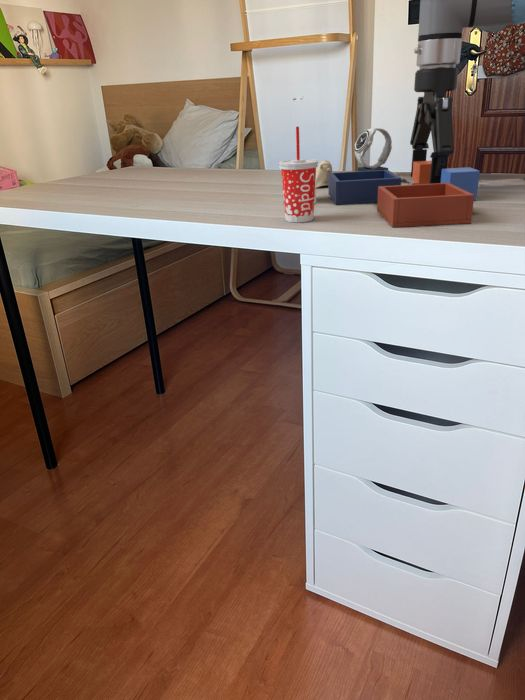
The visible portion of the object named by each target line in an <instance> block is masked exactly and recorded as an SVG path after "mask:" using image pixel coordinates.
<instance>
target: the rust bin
mask: <svg viewBox="0 0 525 700" xmlns="http://www.w3.org/2000/svg"><path fill="white" fill-rule="evenodd" d="M474 202H475V201H474V195H473V194H471V193H469V192H467V191H465V190H463V189H461V188H459V187H457V186H455V185H453V184H450V183H433V184H415V185H412V184H401V185H396V186H379V187H378V201H377V203H376V204H377V205H376V212H377V213H378V214H379V215H380V217H382V218H383V219H384V220H385V221H386V222H387V224H388V225H389V226H390V227H391V228H406V227H425V226H443V225H444V226H445V225H465V224H471V223H472V218H473V210H474Z"/></svg>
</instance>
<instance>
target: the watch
mask: <svg viewBox="0 0 525 700" xmlns="http://www.w3.org/2000/svg"><path fill="white" fill-rule="evenodd" d="M377 131H378V132H379V133H381V134H382V136H383V137H384V140H385V141H384V146H383V148H382V151H381V153H380V155H379V157H378V159H377V162H376V163H374V164H373V165H367V164H366V162H365V160H364V159H363V158H364V157H365V154H366V152H367V151H368V150H369V149H370V147H371V146H372V145H373V143H374V135H375V134H376V132H377ZM392 144H393V143H392V137H391V134H390V133H389V131H387V130H386V129H384V128H381V127H380V128H378V127H371V128H368V129H365V130H363V131H362V132H360V133H359V135H358V136H357V138H356V140H355V142H354V144H353V151H354V156H355V159H356V161H357V163H358V164H359V165H360V166H358V167H357V171H371V170H389V167H386V166H385V167H384V166H383V165H386V164H385V163H387V160H388V159H389V157H390V154H391V152H392V148H393V146H392Z"/></svg>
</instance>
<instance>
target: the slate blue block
mask: <svg viewBox="0 0 525 700" xmlns="http://www.w3.org/2000/svg"><path fill="white" fill-rule="evenodd" d="M480 173H481V170H478V169H475V168H473V167H470V166H467V167H466V166H465V167H447V168H446V169H442V173H441V183H450V184H453V185H455V186H457V187H459V188H461V189H463V190H465V191H467V192H469V193H471V194H473V195H474V202H476V201H477V200H478V199H477V198H478V192H479V191H478V190H479V184H480V183H479V180H480Z"/></svg>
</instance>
